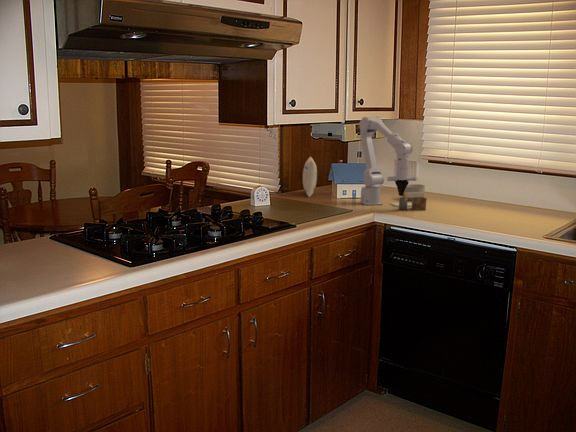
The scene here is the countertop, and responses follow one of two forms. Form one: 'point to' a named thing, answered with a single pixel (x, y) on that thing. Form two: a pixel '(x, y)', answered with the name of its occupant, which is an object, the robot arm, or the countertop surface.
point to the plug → (403, 203)
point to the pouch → (309, 176)
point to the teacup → (414, 189)
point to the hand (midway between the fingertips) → (400, 195)
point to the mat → (398, 204)
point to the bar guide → (419, 203)
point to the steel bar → (413, 194)
